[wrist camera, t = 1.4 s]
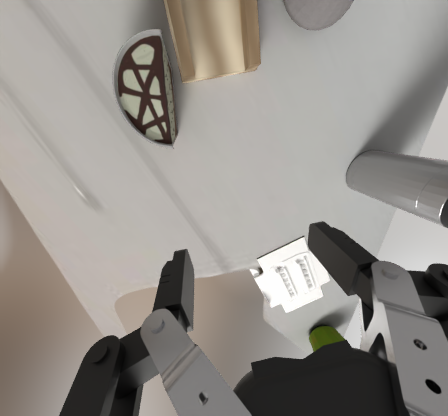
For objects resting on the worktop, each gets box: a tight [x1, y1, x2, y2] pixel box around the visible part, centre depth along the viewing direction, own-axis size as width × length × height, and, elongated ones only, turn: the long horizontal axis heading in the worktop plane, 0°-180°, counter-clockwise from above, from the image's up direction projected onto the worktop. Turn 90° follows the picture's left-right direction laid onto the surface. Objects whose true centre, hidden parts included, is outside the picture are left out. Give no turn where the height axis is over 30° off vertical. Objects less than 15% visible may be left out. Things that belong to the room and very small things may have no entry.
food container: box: [112, 29, 178, 149], centre depth 24 cm, size 12×6×10 cm, turn 179°
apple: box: [309, 326, 345, 352], centre depth 62 cm, size 12×12×11 cm
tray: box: [249, 237, 330, 313], centre depth 52 cm, size 20×28×4 cm
